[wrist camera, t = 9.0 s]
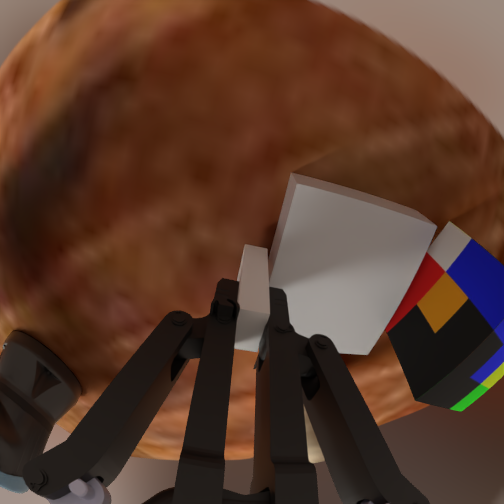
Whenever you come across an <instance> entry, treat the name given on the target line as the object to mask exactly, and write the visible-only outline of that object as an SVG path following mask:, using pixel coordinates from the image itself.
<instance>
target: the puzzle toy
mask: <svg viewBox="0 0 504 504" xmlns="http://www.w3.org/2000/svg"><path fill="white" fill-rule="evenodd" d="M385 330H386V332H387V335H388V337H389V339H390V341H391V343H392V346H393V348H394V350H395V353H396V355H397V357H398V359H399V362H400V364H401V367H402V369H403V371H404V374H405V376H406V379H407V381H408V384H409V386H410V389H411V391H412V394H413V397H414V399H415V401H418V402H422V403H426V404H430V405H434V406H438V407H443V408H447V409H452V410H456V411H463V410H464V409H465V408H466V407H467V406H469V405H470V404H472V403H473V402H474V401H475V400H476V399H478V398H479V397H480V396H481V395H482V394H484V393H485V392H486V391H487V390H488V389H489V388H490V387H492V386H493V385H494V384H495V383H496V382H497V381H498V380H499V379H500V378H501V377H502V376H503V375H504V265H503V264H502V263H501V262H499V261H498V260H497V259H496V258H495V257H494V256H493V255H492V254H490V253H489V252H488V251H487V250H486V249H484V248H483V247H482V246H481V245H480V244H478V243H477V242H476V241H475V240H474V239H472V238H471V237H470V236H468V235H467V234H466V233H465V232H463V231H462V230H461V229H459V228H458V227H457V226H455V225H454V224H453V223H451V222H450V221H449V222H448V223H447V225H446V226H445V227H444V229H443V230H442V231H441V233H440V234H439V235H438V237H437V238H436V239H435V240H434V242H433V243H432V244H431V245H430V247H429V248H428V249H427V251H426V254H425V256H424V258H423V260H422V262H421V264H420V266H419V268H418V270H417V272H416V274H415V276H414V278H413V280H412V282H411V284H410V286H409V288H408V290H407V292H406V293H405V295H404V297H403V299H402V301H401V302H400V304H399V306H398V308H397V309H396V311H395V313H394V315H393V316H392V318H391V320H390V321H389V323H388V324H387V326H386V328H385Z"/></svg>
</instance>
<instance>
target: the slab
mask: <svg viewBox="0 0 504 504" xmlns="http://www.w3.org/2000/svg"><path fill="white" fill-rule="evenodd" d="M436 228H437V226H436V225H435V224H434V223H433V222H431V221H430V220H429V219H427V218H426V217H425V216H423V215H422V214H421V213H419V212H418V211H417V210H415V209H412V208H409V207H406V206H404V205H401V204H398V203H395V202H392V201H389V200H386V199H383V198H380V197H377V196H374V195H371V194H368V193H364V192H361V191H358V190H355V189H351V188H348V187H344V186H341V185H338V184H334V183H330V182H327V181H323V180H319V179H316V178H312V177H308V176H304V175H300V174H296V173H292V172H291V174H290V178H289V182H288V186H287V190H286V194H285V198H284V202H283V206H282V209H281V213H280V217H279V221H278V225H277V228H276V232H275V236H274V240H273V243H272V247H271V251H270V255H269V258H268V275H269V287H274V288H280V289H283V291H284V292H285V293H286V295H287V303H288V311H289V319H290V323H291V325H292V326H293V327H294V329H295V332H296V333H298V334H300V335H302V336H304V337H307V338H310V337H311V336H312V335H314V334H322V335H325V336H327V337H328V338H330V339H331V340H332V342H333V343H334V345H335V347H336V348H337V350H338V352H339V353H344V354H359V355H368V354H369V352H370V351H371V349H372V348H373V346H374V345H375V343H376V342H377V340H378V339H379V337H380V336H381V334H382V332H383V331H384V329H385V328H386V326H387V324H388V323H389V321H390V320H391V318H392V316H393V315H394V313H395V311H396V309H397V308H398V306H399V304H400V302H401V301H402V299H403V297H404V295H405V293H406V292H407V290H408V288H409V286H410V284H411V282H412V280H413V278H414V276H415V274H416V272H417V270H418V268H419V266H420V264H421V262H422V260H423V258H424V256H425V254H426V251H427V249H428V247H429V245H430V243H431V240H432V238H433V236H434V233H435V231H436Z"/></svg>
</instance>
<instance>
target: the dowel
mask: <svg viewBox="0 0 504 504" xmlns="http://www.w3.org/2000/svg"><path fill="white" fill-rule="evenodd" d="M303 405H304V404H303ZM304 415H305V425H306V436H307V448H308V458H309V461H310V462H311V463H317V462H322V461H325V459H324V456H323V454H322V451H321V448H320V446H319V443H318V441H317V438H316V435H315V433H314V430H313V428H312V425H311V422H310V420H309V417H308V415H307V412H306V409H305V407H304Z"/></svg>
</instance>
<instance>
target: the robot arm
mask: <svg viewBox="0 0 504 504" xmlns="http://www.w3.org/2000/svg"><path fill="white" fill-rule="evenodd" d="M234 348H235V349H241V350H247V351H253V352H257V351H258V348H259V354H258V357H257V360H256V362H255V365H254V368H253V369H256V401H255V434H254V465H253V479H252V482H251V487H250V494H249V495H242V494H238V493H235V492H232V491H229V490H226V489H223V482H224V471H225V459H224V449H225V439H226V428H227V417H228V406H229V396H230V386H231V375H232V365H233V355H234ZM194 358H200V361H199V366H198V371H197V376H196V380H195V385H194V390H193V395H192V400H191V405H190V410H189V416H188V421H187V426H186V431H185V437H184V442H183V447H182V451H181V455H180V459H179V465H178V470H177V476H176V482H175V487H172V488H168V489H166V490H163V491H161V492H159V493H157V494H156V495H154V496H153V497H151V498H150V499H148V500H147V501H145V502H144V503H142V504H319V502H318V487H317V475H316V469H315V466H314V464H312V463H311V462H310V461H309V458H308V448H307V436H306V425H305V415H304V407H305V409H306V412H307V415H308V417H309V420H310V422H311V425H312V428H313V430H314V433H315V435H316V438H317V441H318V443H319V446H320V448H321V451H322V454H323V456H324V459H325V461H326V464H327V466H328V469H329V472H330V474H331V477H332V479H333V482H334V484H335V487H336V490H337V492H338V494H339V496H340V499H341V501H342V502H343V504H430V503H429V501H428V499H427V498H426V497H425V496H424V495H423V494H422V493H421V492H420V491H419V490H418V489H417V488H416V487H414V486H413V485H412V484H411V483H410V482H409V481H408V480H407V479H406V478H405V477H404V476H403V475H402V474H401V472H400V470H399V468H398V466H397V464H396V462H395V460H394V458H393V456H392V454H391V452H390V450H389V448H388V446H387V444H386V442H385V440H384V438H383V436H382V434H381V432H380V430H379V428H378V426H377V424H376V422H375V420H374V418H373V416H372V414H371V412H370V410H369V408H368V406H367V405H366V403H365V401H364V399H363V397H362V395H361V393H360V391H359V389H358V387H357V386H356V384H355V382H354V380H353V378H352V376H351V374H350V372H349V371H348V369H347V367H346V365H345V363H344V361H343V359H342V358H341V356H340V354H339V352H338V350H337V348H336V347H335V345H334V343H333V342H332V340H331V339H330V338H328V337H327V336H325V335H322V334H314V335H312V336H311V337H310V338H307V337H304V336H302V335H300V334H298V333H296V332H295V329H294V327H293V326H292V325H291V323H290V319H289V311H288V303H287V295H286V293H285V292H284V291H283V289H280V288H274V287H269V275H268V253H267V248H262V247H257V246H252V245H247V244H245V246H244V251H243V255H242V260H241V264H240V269H239V273H238V278H237V281H234V280H229V279H224V278H222V279H221V280H220V281H219V282H218V284H217V288H216V292H215V297H214V299H213V301H212V303H211V309H210V313H209V315H207V316H206V317H203V318H192V317H191V316H190V314H188V313H186V312H183V311H172V312H170V313H168V314H167V315H166V316H165V317H164V319H163V320H162V321H161V322H160V323H159V325H158V326H157V327H156V328H155V329H154V331H153V332H152V333H151V334H150V335H149V337H148V338H147V339H146V340H145V341H144V343H143V344H142V345H141V346H140V347H139V349H138V350H137V351H136V352H135V354H134V355H133V356H132V357H131V358H130V360H129V361H128V362H127V363H126V365H125V366H124V367H123V368H122V370H121V371H120V372H119V373H118V375H117V376H116V377H115V378H114V380H113V381H112V382H111V383H110V385H109V386H108V387H107V388H106V390H105V391H104V392H103V393H102V395H101V396H100V397H99V398H98V400H97V401H96V402H95V404H94V405H93V406H92V407H91V409H90V410H89V411H88V413H87V414H86V415H85V416H84V418H83V419H82V420H81V422H80V423H79V424H78V426H77V427H76V428H75V429H74V431H73V432H72V433H71V435H70V436H69V437H68V439H67V440H66V441H65V442H63V443H61V444H59V445H57V446H56V447H54V448H52V449H50V450H49V451H47V452H45V453H43V451H44V449H45V446H46V443H47V441H48V438H49V436H50V434H51V431H52V429H53V427H54V425H55V423H56V422H57V421H58V420H59V419H60V418H61V417H63V416H64V415H65V414H66V413H67V412H68V411H69V410H70V409H71V408H72V407H73V406H74V405H75V404H76V403H77V401H78V399H79V397H80V395H81V392H82V389H81V386H80V384H79V382H78V380H77V379H76V377H75V376H74V375H73V373H72V372H71V371H70V370H69V369H68V367H67V366H66V365H65V364H64V363H63V362H62V361H61V360H60V359H59V358H58V357H56V356H55V355H54V354H53V353H52V352H51V351H50V350H48V349H47V348H46V347H45V346H43V345H42V344H41V343H39V342H38V341H37V340H35V339H34V338H32V337H30V336H28V335H27V334H24V333H22V332H19V331H13V332H11V333H10V335H9V336H8V337H7V339H6V340H5V342H4V344H3V350H2V353H1V355H0V487H2V488H5V489H7V490H9V491H12V492H15V493H24V492H27V491H28V490H29V489H30V490H31V491H33V492H35V493H36V494H37V495H40V496H42V497H44V498H46V499H47V500H48V501H49V502H50V504H111V495H110V493H109V491H108V490H107V488H106V487H108V486H109V485H110V484H111V483H112V482H113V481H114V480H115V478H116V477H117V476H118V474H119V473H120V472H121V470H122V468H123V467H124V465H125V464H126V462H127V461H128V459H129V457H130V456H131V454H132V452H133V451H134V449H135V448H136V446H137V444H138V443H139V441H140V440H141V438H142V436H143V435H144V433H145V431H146V430H147V428H148V427H149V425H150V423H151V422H152V420H153V418H154V417H155V415H156V414H157V412H158V410H159V409H160V407H161V405H162V404H163V402H164V401H165V399H166V397H167V396H168V394H169V392H170V391H171V389H172V388H173V386H174V384H175V383H176V381H177V379H178V378H179V376H180V375H181V373H182V371H183V370H184V368H185V366H186V365H187V363H188V361H189V359H194ZM303 404H304V405H303Z"/></svg>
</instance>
